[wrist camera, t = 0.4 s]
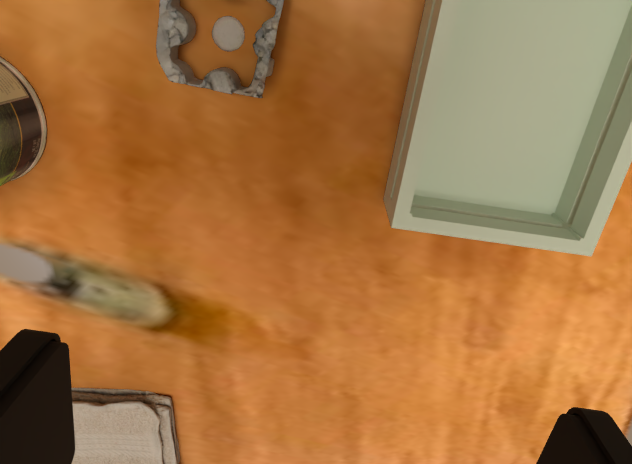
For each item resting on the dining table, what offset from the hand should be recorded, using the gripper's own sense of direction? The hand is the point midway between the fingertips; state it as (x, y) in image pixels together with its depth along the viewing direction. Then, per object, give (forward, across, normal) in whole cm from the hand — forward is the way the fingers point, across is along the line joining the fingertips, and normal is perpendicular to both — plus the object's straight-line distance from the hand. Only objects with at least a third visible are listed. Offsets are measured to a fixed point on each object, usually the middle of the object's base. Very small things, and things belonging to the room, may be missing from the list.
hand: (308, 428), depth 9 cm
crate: (+29, -12, -4) cm, 32 cm away
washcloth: (+30, +18, +34) cm, 49 cm away
